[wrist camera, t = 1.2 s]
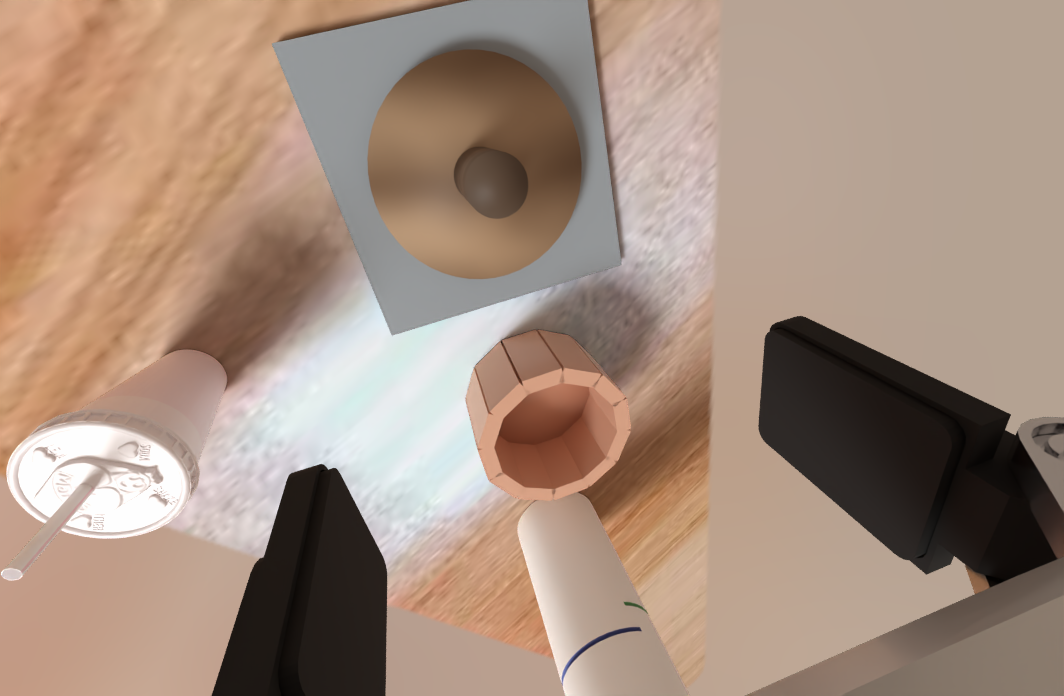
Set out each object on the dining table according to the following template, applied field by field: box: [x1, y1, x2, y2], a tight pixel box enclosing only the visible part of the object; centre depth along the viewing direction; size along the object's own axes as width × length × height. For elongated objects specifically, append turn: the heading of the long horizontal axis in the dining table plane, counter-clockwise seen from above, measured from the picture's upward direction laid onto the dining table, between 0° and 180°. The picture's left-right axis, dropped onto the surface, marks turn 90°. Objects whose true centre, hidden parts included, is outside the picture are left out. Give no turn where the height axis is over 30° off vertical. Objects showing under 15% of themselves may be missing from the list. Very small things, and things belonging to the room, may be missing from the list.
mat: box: [272, 0, 621, 335], centre depth 27 cm, size 16×16×1 cm
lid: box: [367, 49, 582, 279], centre depth 24 cm, size 12×12×6 cm
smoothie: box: [1, 350, 227, 580], centre depth 22 cm, size 6×6×14 cm
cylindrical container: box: [518, 492, 690, 696], centre depth 30 cm, size 7×7×25 cm
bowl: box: [466, 329, 631, 501], centre depth 32 cm, size 10×10×6 cm
